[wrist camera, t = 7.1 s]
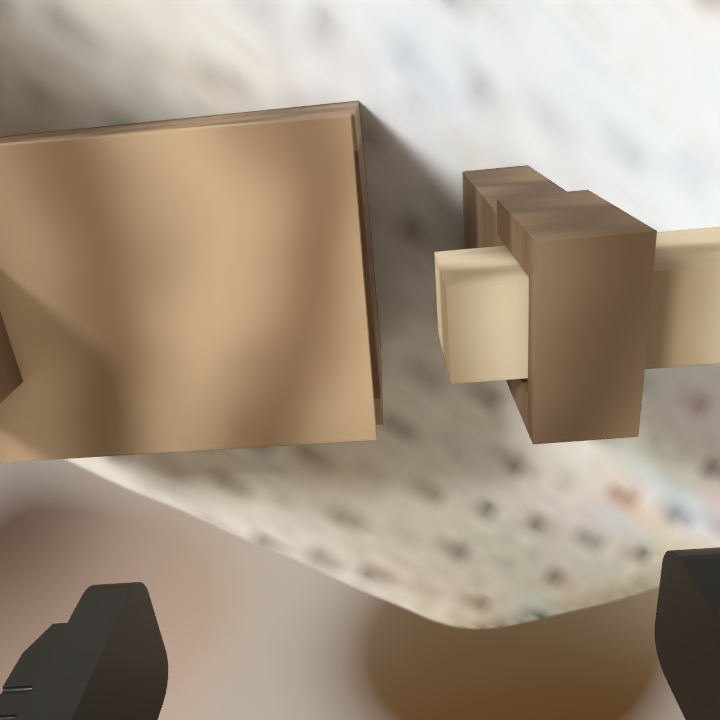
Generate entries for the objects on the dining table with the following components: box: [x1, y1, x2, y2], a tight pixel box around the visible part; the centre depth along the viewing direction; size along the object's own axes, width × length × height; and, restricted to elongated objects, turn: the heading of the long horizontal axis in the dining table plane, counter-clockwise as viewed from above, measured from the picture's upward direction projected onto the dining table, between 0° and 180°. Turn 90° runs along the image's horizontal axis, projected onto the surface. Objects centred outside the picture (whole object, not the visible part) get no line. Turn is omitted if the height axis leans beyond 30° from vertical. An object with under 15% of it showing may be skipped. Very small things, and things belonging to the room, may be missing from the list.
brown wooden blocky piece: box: [0, 101, 657, 444], centre depth 25 cm, size 28×12×15 cm, turn 95°
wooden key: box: [434, 227, 720, 384], centre depth 21 cm, size 12×3×4 cm, turn 95°
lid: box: [0, 114, 376, 463], centre depth 22 cm, size 20×12×6 cm, turn 95°
